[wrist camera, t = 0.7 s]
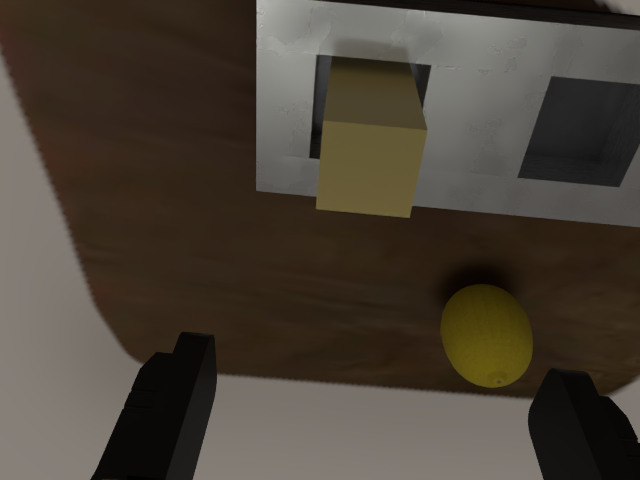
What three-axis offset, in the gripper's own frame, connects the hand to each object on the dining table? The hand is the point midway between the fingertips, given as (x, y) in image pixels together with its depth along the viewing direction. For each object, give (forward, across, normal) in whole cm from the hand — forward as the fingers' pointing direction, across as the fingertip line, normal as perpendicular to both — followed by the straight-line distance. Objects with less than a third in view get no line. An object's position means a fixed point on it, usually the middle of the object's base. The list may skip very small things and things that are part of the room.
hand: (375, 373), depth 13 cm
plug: (+19, 0, 0) cm, 19 cm away
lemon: (+20, -9, +14) cm, 26 cm away
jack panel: (+20, -6, 0) cm, 21 cm away
